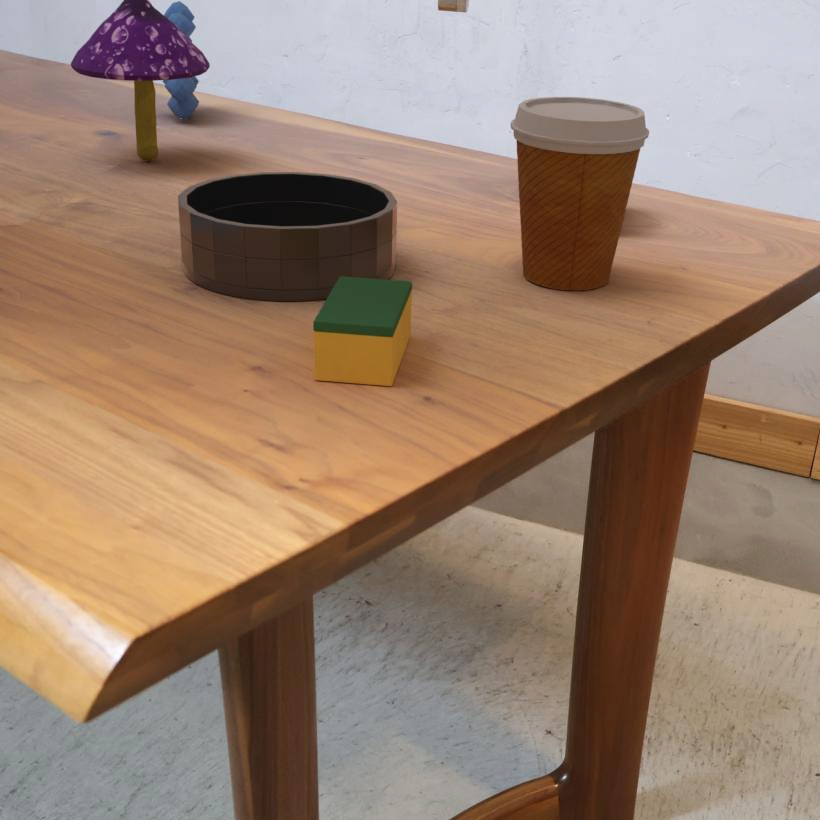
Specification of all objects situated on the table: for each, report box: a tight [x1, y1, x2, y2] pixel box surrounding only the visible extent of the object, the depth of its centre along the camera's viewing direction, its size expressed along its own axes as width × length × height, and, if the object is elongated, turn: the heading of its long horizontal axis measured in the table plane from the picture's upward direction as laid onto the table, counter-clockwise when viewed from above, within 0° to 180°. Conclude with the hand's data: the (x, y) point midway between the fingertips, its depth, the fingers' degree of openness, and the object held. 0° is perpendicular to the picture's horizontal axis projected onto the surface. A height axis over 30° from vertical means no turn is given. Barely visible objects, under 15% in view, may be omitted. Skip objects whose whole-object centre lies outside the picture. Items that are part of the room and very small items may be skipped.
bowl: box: [177, 171, 398, 302], centre depth 82 cm, size 15×15×5 cm
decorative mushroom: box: [70, 0, 211, 162], centre depth 106 cm, size 12×12×15 cm
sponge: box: [312, 276, 413, 387], centre depth 68 cm, size 4×8×4 cm, turn 174°
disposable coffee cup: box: [509, 96, 650, 291], centre depth 81 cm, size 10×10×12 cm
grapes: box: [162, 0, 200, 120], centre depth 126 cm, size 12×7×12 cm, turn 10°
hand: (363, 4), depth 60 cm, fingers open, 8 cm apart
